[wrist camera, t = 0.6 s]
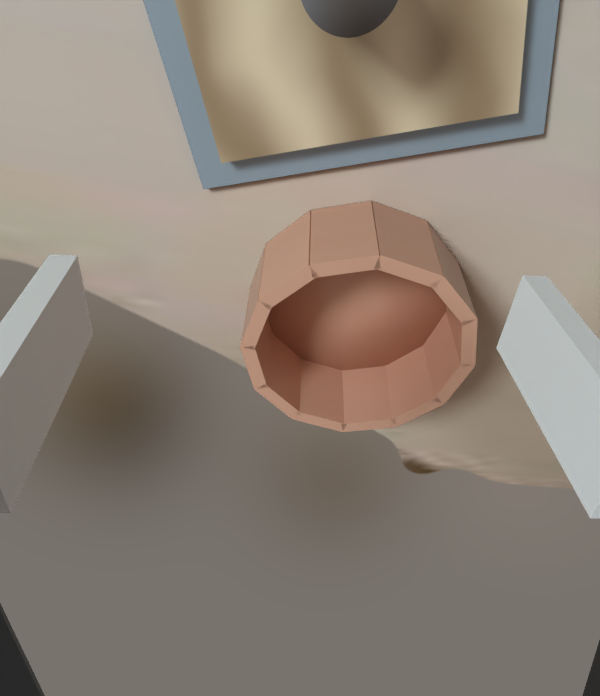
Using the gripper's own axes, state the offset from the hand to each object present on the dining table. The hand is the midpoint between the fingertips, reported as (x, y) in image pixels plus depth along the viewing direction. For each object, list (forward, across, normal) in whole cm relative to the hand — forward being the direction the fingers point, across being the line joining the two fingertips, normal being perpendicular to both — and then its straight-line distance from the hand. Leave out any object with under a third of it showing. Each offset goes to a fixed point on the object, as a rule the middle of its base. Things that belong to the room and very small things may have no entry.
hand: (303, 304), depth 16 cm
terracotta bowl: (+22, +6, -13) cm, 27 cm away
